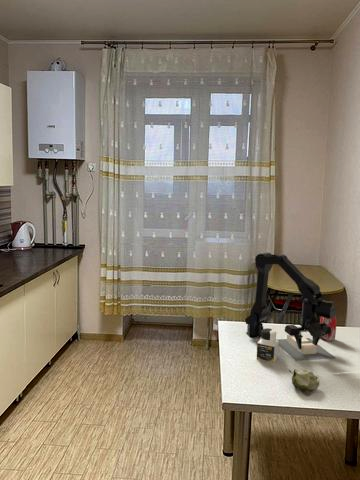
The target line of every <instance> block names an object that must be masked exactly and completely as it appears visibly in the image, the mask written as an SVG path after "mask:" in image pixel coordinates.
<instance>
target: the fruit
mask: <svg viewBox="0 0 360 480" xmlns="http://www.w3.org/2000/svg"><path fill="white" fill-rule="evenodd" d="M288 371H289V372H290V373H291V374H292V375H291V382H292V385H293V386H294V387H295V389H299V390H300V391H301V392H302V393H303V394H304V396H306V397H309V396H310V395H311V394H312V393H313V392H314V391H315V390H316V389H318V388H319V386H320V384H321V383H320V381H319V380H318V379H319V377H318V376H317V375H316V374H314V372H313V371H310V370H309V369H308V368H305V369H303V370H300V369H297V368H293V372H292V371H291V370H290V369H289V370H288Z"/></svg>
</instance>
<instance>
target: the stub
mask: <svg viewBox="0 0 360 480" xmlns="http://www.w3.org/2000/svg"><path fill="white" fill-rule="evenodd" d="M316 350H317V347H316V345H314V344H312V342H304V343H301V350H300V349H299V347H298V351H300V352H301V353H302V354H316Z"/></svg>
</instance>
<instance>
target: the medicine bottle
mask: <svg viewBox="0 0 360 480" xmlns="http://www.w3.org/2000/svg"><path fill="white" fill-rule="evenodd" d="M279 347H280V346H279V341H278V340H277V331H276V330H275V329H273V328H268V327H267V328H263V329H262V330H261V337H260V339H259V340H258V341H257V342H256V360H259V361H264V362H268V363H270V362H272V363H274V362H275V361H276V360H277V358H278V357H279V349H280V348H279Z"/></svg>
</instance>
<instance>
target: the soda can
mask: <svg viewBox="0 0 360 480" xmlns="http://www.w3.org/2000/svg"><path fill="white" fill-rule="evenodd" d="M319 323H321V324H322V323H326V324H327V325H328V326H330V327H331V329H332V332H331V334H325V333H324V334H325V336H322V337H321V338H320V339H321V340H323V341H327V342H332V341H335V339H336V333H337V317H336V316H335V317H334V318H333V319H329V318H325V317H321V316H320V321H319Z"/></svg>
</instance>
